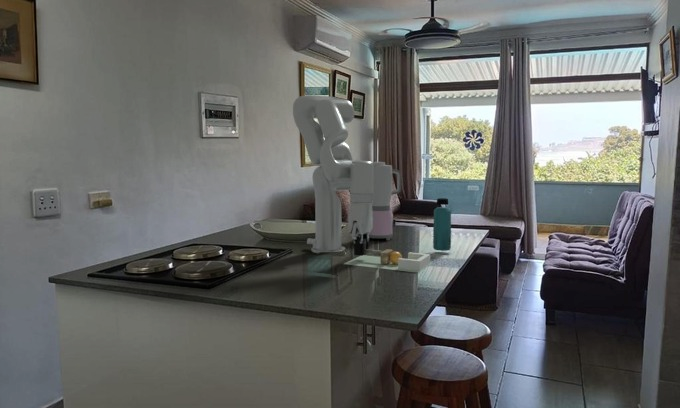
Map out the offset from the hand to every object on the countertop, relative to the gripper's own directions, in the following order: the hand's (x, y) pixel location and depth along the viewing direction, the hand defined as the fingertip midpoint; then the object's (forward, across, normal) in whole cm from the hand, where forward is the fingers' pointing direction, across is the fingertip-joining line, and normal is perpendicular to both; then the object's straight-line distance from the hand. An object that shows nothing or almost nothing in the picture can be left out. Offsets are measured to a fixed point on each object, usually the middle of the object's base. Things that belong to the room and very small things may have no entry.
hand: (361, 253), depth 166 cm
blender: (+3, -45, -11) cm, 46 cm away
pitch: (+3, 0, +10) cm, 10 cm away
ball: (0, 0, +12) cm, 12 cm away
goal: (+2, 0, +18) cm, 18 cm away
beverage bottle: (+3, -28, +19) cm, 34 cm away
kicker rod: (+2, 0, +4) cm, 5 cm away
